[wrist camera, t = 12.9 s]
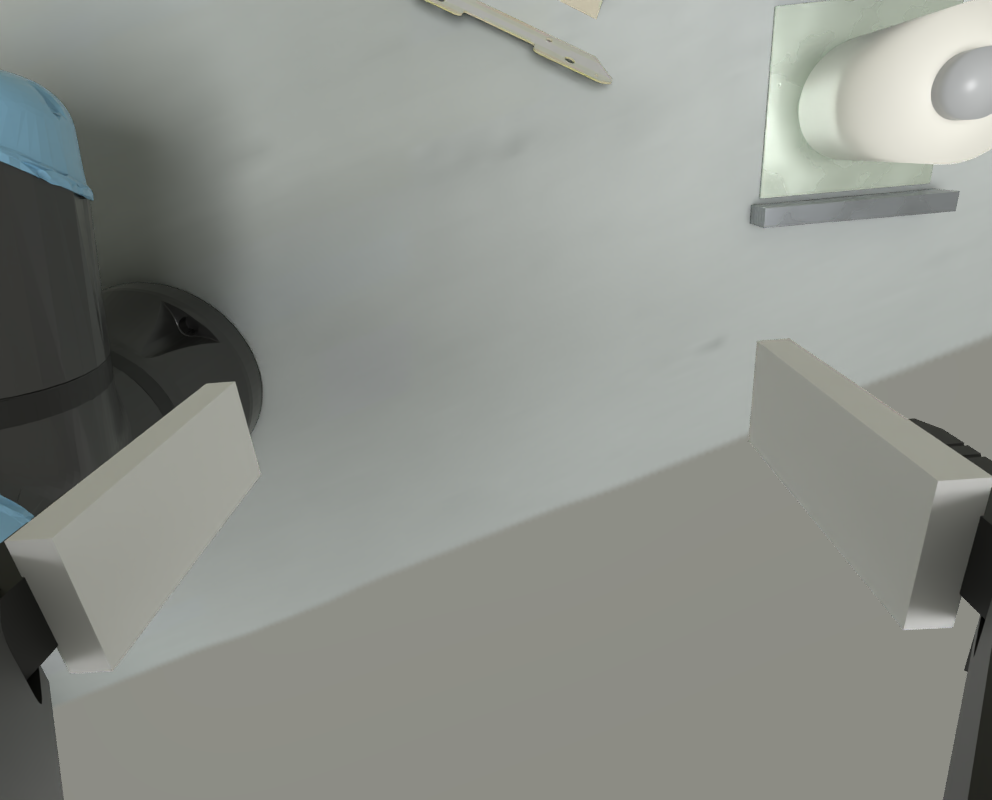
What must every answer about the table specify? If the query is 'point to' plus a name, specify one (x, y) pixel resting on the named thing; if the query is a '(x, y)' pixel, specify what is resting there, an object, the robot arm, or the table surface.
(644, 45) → the table surface
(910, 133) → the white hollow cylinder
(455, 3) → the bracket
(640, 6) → the table surface
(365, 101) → the table surface
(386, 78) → the table surface
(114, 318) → the robot arm
